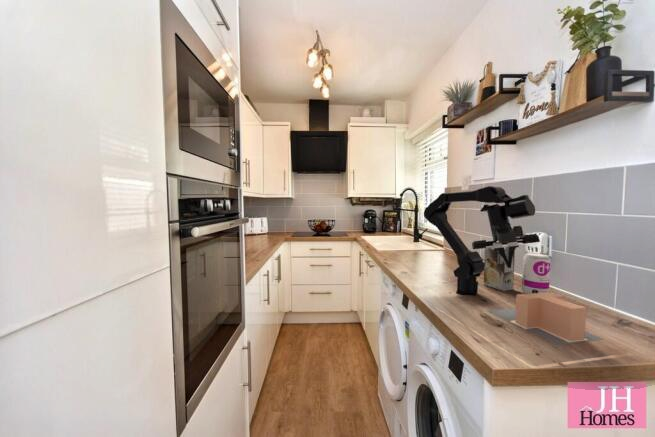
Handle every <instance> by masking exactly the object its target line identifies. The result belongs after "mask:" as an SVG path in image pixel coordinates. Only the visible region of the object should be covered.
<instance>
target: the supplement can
mask: <svg viewBox="0 0 655 437" xmlns="http://www.w3.org/2000/svg"><path fill="white" fill-rule="evenodd" d="M551 260H552V259H551V258H550V256H549V255H548V254H544V253H537V252H536V253H535V252H529V253H527V252H526V253H525V254H524V256H523V259H522V276H521V277H522V279H521V280H522V281H521V291H523V294H531V293H545V292H550V279H551Z"/></svg>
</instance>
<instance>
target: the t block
mask: <svg viewBox="0 0 655 437" xmlns="http://www.w3.org/2000/svg"><path fill="white" fill-rule="evenodd" d="M515 298H516V301H515V303H516V304H515V308H516V318H515V323H517V324H520V325H522V326H524V327H526V328H532V327H540V328H542V329H544V330H546V331H548V332H551V333H553V334H555V335H557V336H559V337H562V338H564V339H566V340H568V341H577V340H584V338H585V332H586V319H587V318H586V317H587V307H585V306H582V305H579V304H576V303H573V302H569V301H567V300H565V299H564V298H565V295H562V294H558V293H555V292H552V291H549V292H545V293H531V294H526V293H520V294H519V293H518V294H516V297H515Z"/></svg>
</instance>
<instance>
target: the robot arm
mask: <svg viewBox="0 0 655 437" xmlns="http://www.w3.org/2000/svg"><path fill="white" fill-rule="evenodd" d="M458 202H459V203H463V202H465V203H467V202H478V203H486V204H483V207H481V208H480V212H481V213H482V212H484V213H485V212H486V213H487V218H488V223H489V226H490V232H491V236H492V240H489V241H487V239H482V240H474V241H472V242H471V247H472V250H475V251H471V250H469V248H468V246H466V245H465V243H464V241H463V240H462V239H461V238H460V236H459V235H458V233H457V232H456V231H455V230H454V228H453V227H452V225H451V224H450V222H449V221H448V215H447V212H448V210H449V209H450V206H451V204H452V203H458ZM488 203H489V204H491V205H489V204H488ZM500 204H503V205H500ZM535 213H536V207H535V204H533V201H532V200H531V199H530V196H529V195H528V194H527V195H526V194H523V195H520V196H518V197H511V196H510V195H508V194H507V193H506V190H505V189H504V188H503V187H502V186H491V185H488V186H484V187H480V188H478V189H475V190H471V191H459V192H458V191H457V192H443V193H440V194H439V195H438V196H437V198H436V199H434V200H433V201H432V202H430V203H429V204H428V206H426V207H425V208H424V212H423V216H424V219H426V220H427V221H428V222H429V223H430V224H431V225H433V226H434V227H436V228H437V230H438V231H439V233H440V234H441V235H442V236H443V238H444V240H445V241H446V242H447V244H448V246H449V247H450V248H451V249H452V252H454V254H455V255H456V261H457V264H458V267H456V269H454V270H453V275H454V277H456V278H457V282H456V284H457V285H456V291H455V293H456V294H460V295H466V296H473V297H474V296H476V295H477V294H479V281H478V280H477V278H479V277H480V276H481V275H482V274H481V273H484V268H485V264H484V258H482V256H481V255H480V254H479V252H478V251H477V250H481V249H485V248H486V247H492V248H491V250H495V251H496V252H497V253H498V254H499V256H500V257H501V258H502V260H503V262H504V263H505V265H506V266H507V268H511V264H512V258H513V254H514V251H515V250H516V249H517V248H519V247H520V245H518V244H520V243H522V244H523V245H524V244H525V245H526V244H533V243H534V244H535V243H540V242H541V240H540V237H539V235H538V234H536V233H531V234H524V231H523V226H521V225H515V226H513V227H512V226H511V223H510V220H509V218H510V219H513V220H516V219H517V220H518V219H522V218H526V217H527V218H528V217H532V216H534V215H535ZM504 245H506V246H504ZM503 246H504V247H503ZM504 248H505V249H506V254H505V249H504ZM515 252H516V251H515ZM506 256H507V257H506Z"/></svg>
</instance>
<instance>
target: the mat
mask: <svg viewBox="0 0 655 437" xmlns="http://www.w3.org/2000/svg"><path fill="white" fill-rule="evenodd" d="M485 311H486V312H487V313H489V314H492V315H494V316H496V317H497V318H500V319H501V320H504V321H506V322H508V323H510V324H512V325H514V326H517V328H520V329H522V330H525V331H526V332H529V333H530V334H532V335H535V336H536V337H539V338H540V339H542V340H545V341H546V342H549V343H551V344H553V345H555V346H562V345H569V344H577V343H578V344H579V343H585V342H586V343H587V342H595V341H601V340H604V341H605V338H602V337H601V336H598V335H596V334H595V335H594V334H592V333H590V332H587V331H585V338H584V340H577V341H568V340H566V339H564V338H562V337H559V336H557V335H555V334H553V333H551V332H548V331H546V330H544V329H542V328H540V327H532V328H526V327H524V326H522V325H520V324H517V323H515V318H516V307H515V308H503V309H501V308H499V309H490V310H489V309H488V310H485Z"/></svg>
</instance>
